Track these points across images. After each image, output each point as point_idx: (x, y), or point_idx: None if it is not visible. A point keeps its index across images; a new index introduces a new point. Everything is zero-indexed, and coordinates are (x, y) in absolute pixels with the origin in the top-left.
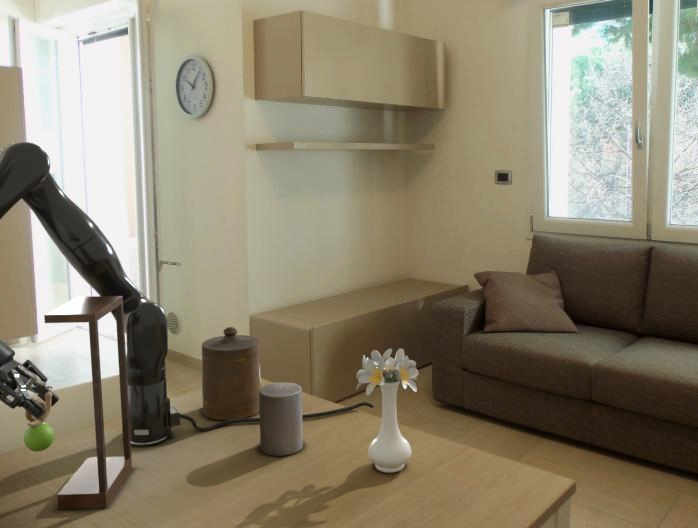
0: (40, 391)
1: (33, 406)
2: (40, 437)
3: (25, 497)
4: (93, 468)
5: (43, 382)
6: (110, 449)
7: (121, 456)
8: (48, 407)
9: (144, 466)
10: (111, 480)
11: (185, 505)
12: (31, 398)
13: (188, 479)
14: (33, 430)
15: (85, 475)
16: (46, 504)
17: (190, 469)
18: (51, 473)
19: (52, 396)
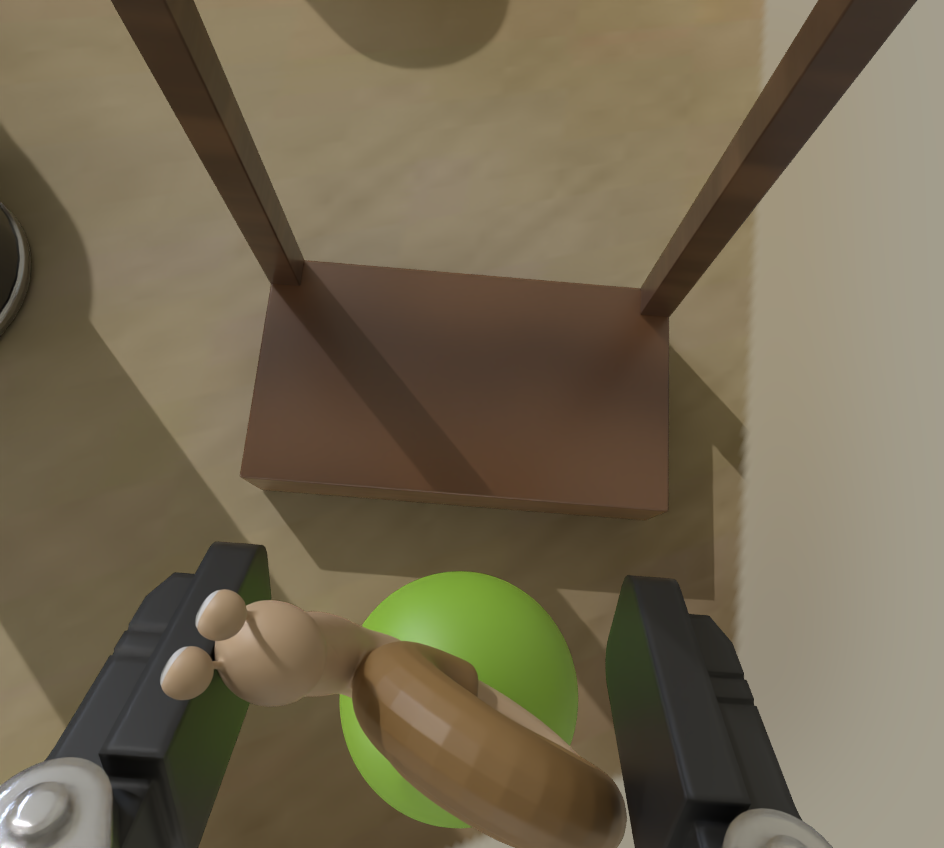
0: (163, 826)
1: (754, 710)
2: (564, 645)
3: None
4: (393, 410)
5: (34, 826)
6: (10, 445)
7: (269, 304)
8: (362, 635)
9: None
10: (543, 293)
11: (649, 49)
12: (713, 793)
13: (436, 59)
14: (544, 723)
15: (471, 429)
16: (588, 591)
17: (343, 61)
18: None
19: None
